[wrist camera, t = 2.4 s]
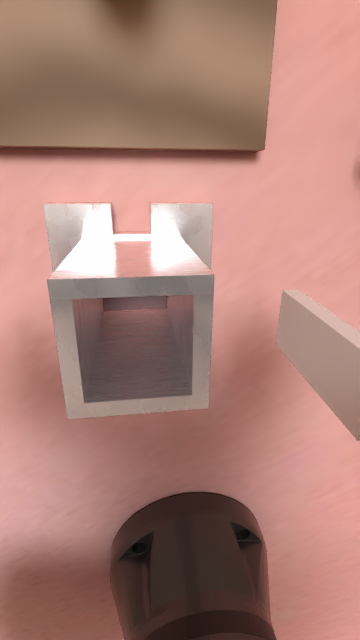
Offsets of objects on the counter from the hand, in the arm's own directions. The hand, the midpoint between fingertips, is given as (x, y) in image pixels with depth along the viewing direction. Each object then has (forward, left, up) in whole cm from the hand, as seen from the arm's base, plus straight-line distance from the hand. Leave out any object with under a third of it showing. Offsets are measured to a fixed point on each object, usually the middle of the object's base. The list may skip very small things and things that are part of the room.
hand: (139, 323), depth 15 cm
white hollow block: (0, 0, -9) cm, 9 cm away
